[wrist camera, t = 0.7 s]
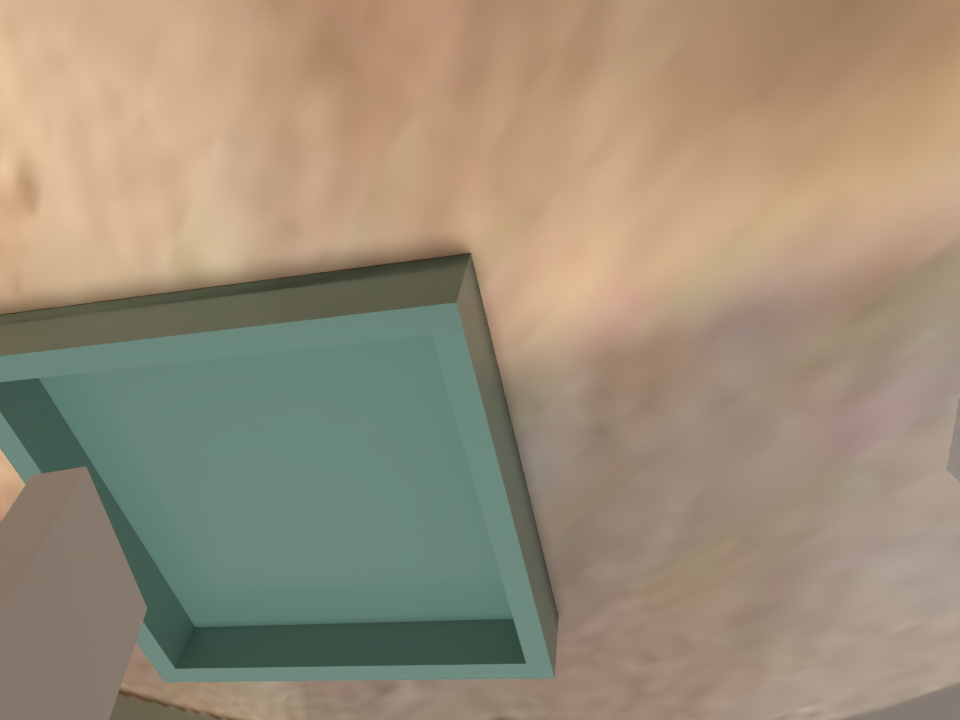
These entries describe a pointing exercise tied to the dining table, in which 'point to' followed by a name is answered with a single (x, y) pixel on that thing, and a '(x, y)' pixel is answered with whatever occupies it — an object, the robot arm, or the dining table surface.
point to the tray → (298, 473)
